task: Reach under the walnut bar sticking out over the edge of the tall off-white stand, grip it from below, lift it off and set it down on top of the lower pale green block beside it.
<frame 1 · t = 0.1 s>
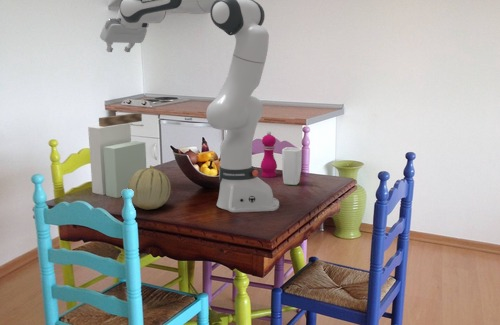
hand: (118, 51, 210), 54 cm above the table, tool tilted 30°, fingers open, 8 cm apart
tall stand: (113, 189, 213), on the table
walnut bar: (121, 123, 213), point 26 cm above the table, touching tall stand
cup: (291, 184, 221), on the table
pale green block: (127, 192, 209), on the table
cantaloupe: (150, 209, 187), on the table
pepper mill: (268, 176, 235), on the table
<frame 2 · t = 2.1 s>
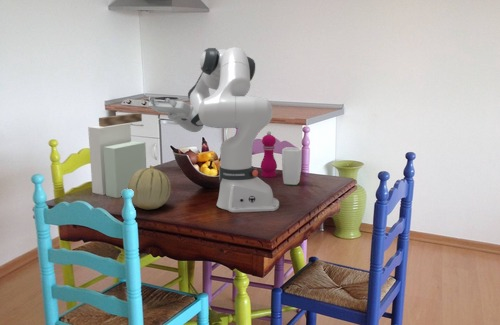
hand: (158, 99, 229), 34 cm above the table, tool pointing upward, fingers open, 8 cm apart
nothing on the table moved.
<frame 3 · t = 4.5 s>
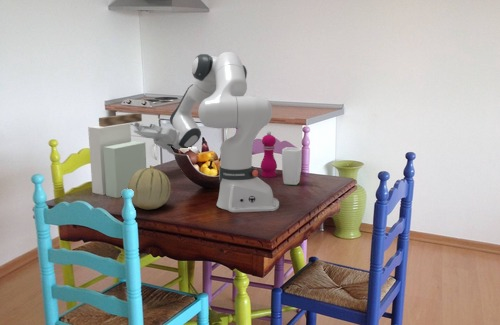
hand: (143, 124, 223), 24 cm above the table, tool pointing upward, fingers open, 8 cm apart
nothing on the table moved.
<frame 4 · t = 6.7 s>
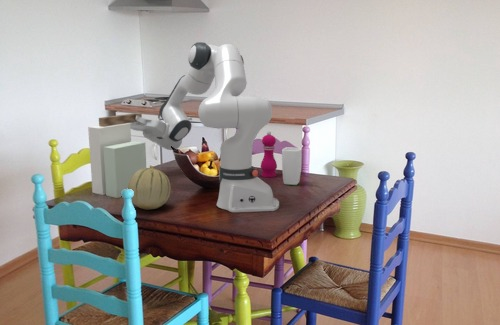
hand: (131, 116, 217), 28 cm above the table, tool pointing upward, fingers closed on walnut bar, 3 cm apart
walnut bar: (121, 123, 213), point 26 cm above the table, touching gripper, tall stand
everything else where it was.
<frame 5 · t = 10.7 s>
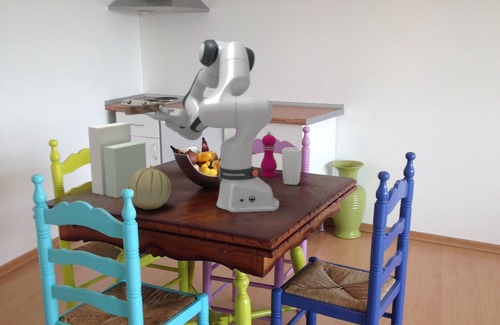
hand: (155, 106, 222), 32 cm above the table, tool pointing upward, fingers closed on walnut bar, 3 cm apart
walnut bar: (145, 112, 218), point 30 cm above the table, touching gripper
everything else where it was.
when the fingers open (22 cm above the table, at t = 14.8 s): walnut bar stays where it is, resting on pale green block.
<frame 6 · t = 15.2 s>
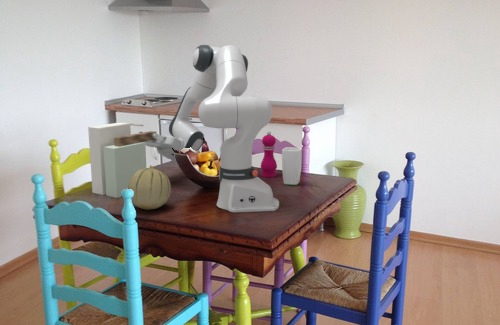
hand: (146, 134, 214), 22 cm above the table, tool pointing upward, fingers open, 6 cm apart
walnut bar: (136, 142, 210), point 19 cm above the table, touching pale green block
everything else where it was.
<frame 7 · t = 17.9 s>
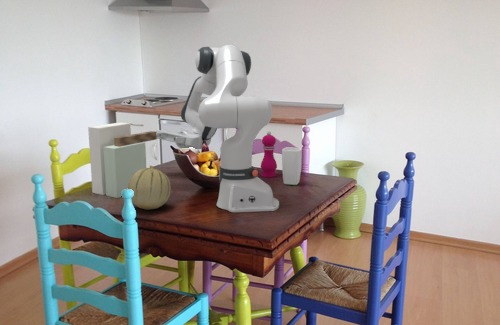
hand: (166, 137, 222), 19 cm above the table, tool horizontal, fingers open, 8 cm apart
nothing on the table moved.
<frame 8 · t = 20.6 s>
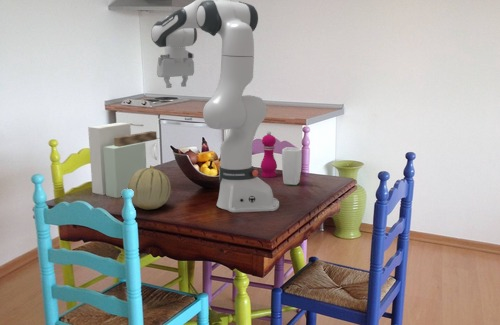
hand: (176, 87, 229), 39 cm above the table, tool pointing down, fingers open, 8 cm apart
nothing on the table moved.
at the end: walnut bar 0.1 cm from the target spot on the pale green block, point 19.0 cm above the pale green block's base; walnut bar touching pale green block; the gripper is holding nothing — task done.
